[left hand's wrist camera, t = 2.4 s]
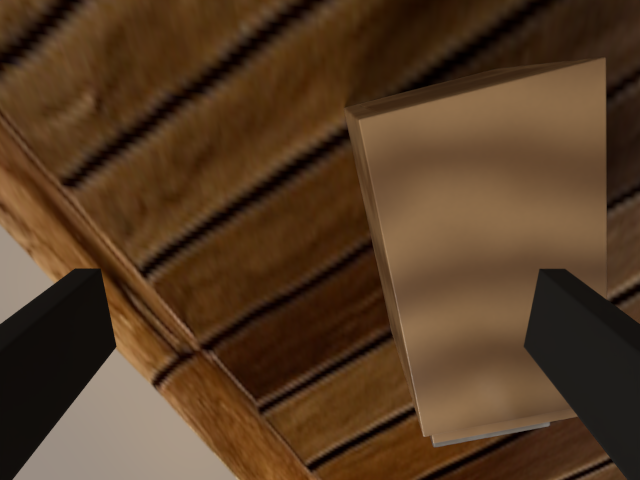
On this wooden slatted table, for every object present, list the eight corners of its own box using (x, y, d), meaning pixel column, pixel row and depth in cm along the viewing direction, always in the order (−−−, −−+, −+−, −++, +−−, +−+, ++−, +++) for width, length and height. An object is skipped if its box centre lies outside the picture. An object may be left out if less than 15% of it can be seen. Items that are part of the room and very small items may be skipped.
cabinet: (517, 304, 35) (608, 402, 24) (391, 330, 36) (423, 437, 25) (496, 68, 29) (606, 56, 18) (343, 107, 30) (358, 119, 19)
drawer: (522, 380, 37) (589, 476, 28) (414, 401, 37) (444, 501, 28) (498, 117, 29) (580, 130, 20) (362, 151, 30) (381, 178, 21)
